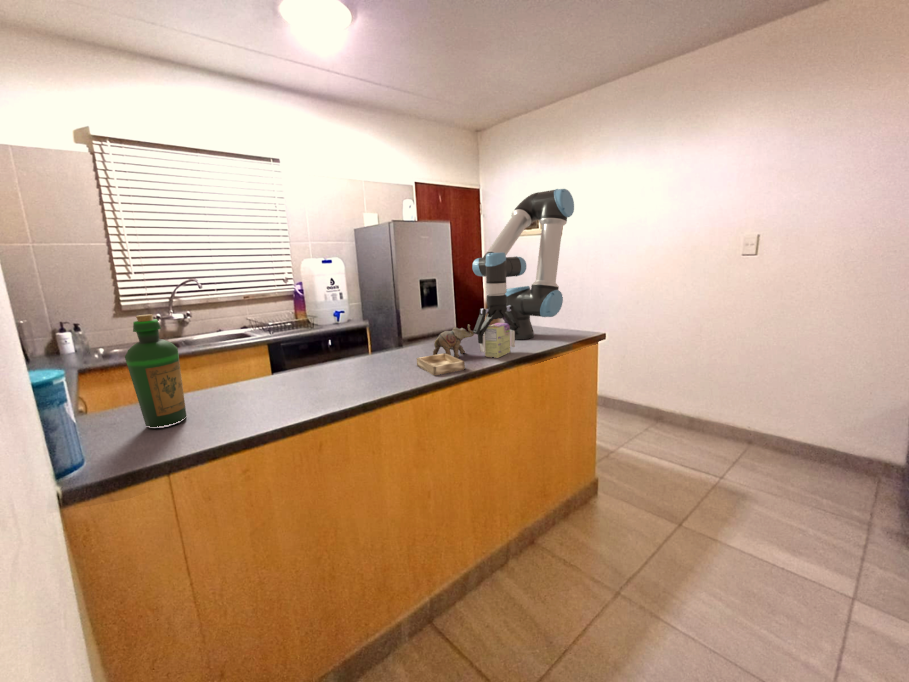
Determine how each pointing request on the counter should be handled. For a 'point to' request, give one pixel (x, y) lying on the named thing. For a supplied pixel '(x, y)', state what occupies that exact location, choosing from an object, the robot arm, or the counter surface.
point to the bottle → (156, 374)
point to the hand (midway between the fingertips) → (497, 349)
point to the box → (497, 340)
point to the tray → (440, 364)
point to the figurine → (452, 341)
